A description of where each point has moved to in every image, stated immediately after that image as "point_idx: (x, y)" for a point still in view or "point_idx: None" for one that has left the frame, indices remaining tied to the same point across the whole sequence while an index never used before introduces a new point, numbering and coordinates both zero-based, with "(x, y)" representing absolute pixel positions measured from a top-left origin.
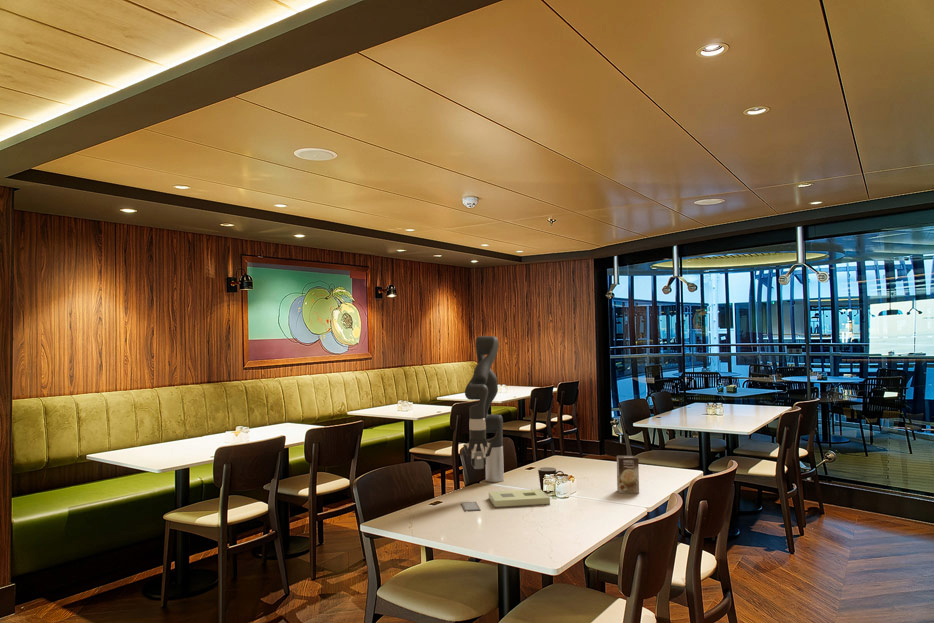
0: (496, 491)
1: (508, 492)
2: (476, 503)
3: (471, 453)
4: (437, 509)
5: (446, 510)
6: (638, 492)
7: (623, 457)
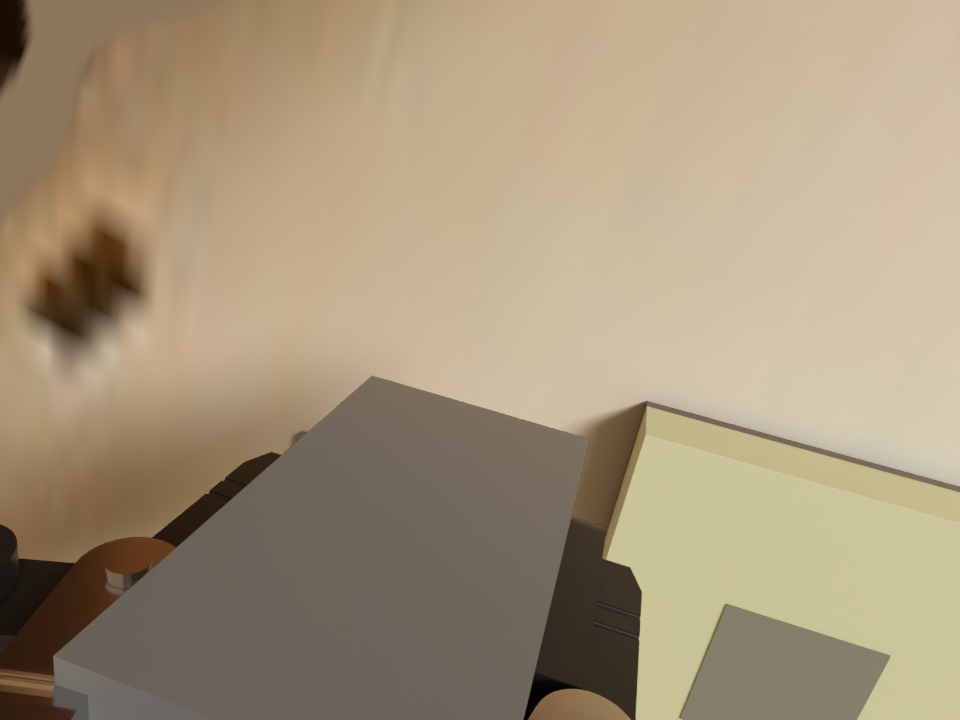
0: (753, 471)
1: (876, 593)
2: None
3: (13, 673)
4: (86, 499)
5: None
6: None
7: None
